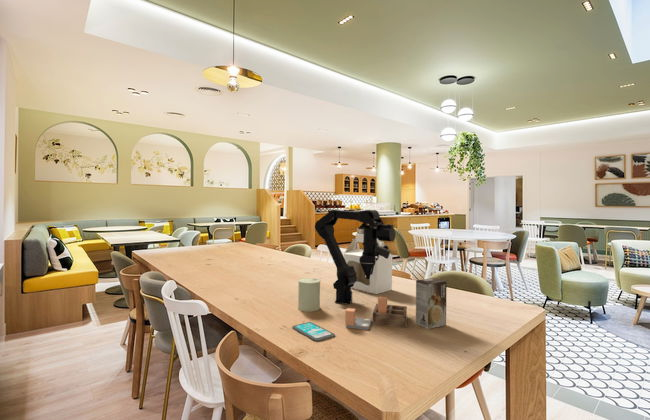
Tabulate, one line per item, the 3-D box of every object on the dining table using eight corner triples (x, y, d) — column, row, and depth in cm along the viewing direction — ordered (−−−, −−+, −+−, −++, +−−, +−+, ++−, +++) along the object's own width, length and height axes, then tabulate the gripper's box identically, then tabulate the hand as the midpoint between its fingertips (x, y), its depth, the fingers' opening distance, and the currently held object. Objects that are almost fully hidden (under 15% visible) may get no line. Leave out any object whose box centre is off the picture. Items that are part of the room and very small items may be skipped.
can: (324, 308, 136) (325, 279, 136) (308, 313, 130) (309, 283, 130) (309, 303, 143) (309, 275, 143) (293, 307, 136) (293, 279, 136)
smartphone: (315, 340, 102) (290, 325, 114) (315, 343, 102) (290, 328, 114) (337, 334, 107) (310, 321, 119) (337, 337, 107) (310, 323, 119)
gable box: (392, 290, 168) (393, 235, 167) (376, 294, 158) (377, 236, 158) (359, 282, 184) (360, 232, 183) (343, 285, 175) (343, 233, 174)
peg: (377, 320, 120) (378, 298, 120) (378, 317, 123) (379, 296, 123) (386, 321, 119) (386, 299, 119) (386, 318, 122) (387, 297, 122)
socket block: (372, 324, 119) (372, 313, 119) (375, 313, 130) (376, 303, 130) (406, 327, 116) (406, 316, 116) (406, 316, 127) (406, 306, 127)
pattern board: (345, 327, 115) (345, 310, 115) (349, 319, 123) (349, 303, 123) (368, 330, 113) (369, 313, 113) (371, 322, 121) (371, 305, 121)
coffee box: (433, 319, 124) (434, 277, 124) (446, 325, 119) (447, 281, 118) (414, 323, 120) (415, 279, 120) (427, 329, 114) (428, 283, 114)
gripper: (388, 243, 126) (387, 283, 127) (391, 238, 144) (390, 273, 145) (359, 241, 129) (358, 281, 129) (365, 237, 147) (365, 272, 147)
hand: (369, 276), depth 138 cm, fingers open, 9 cm apart
